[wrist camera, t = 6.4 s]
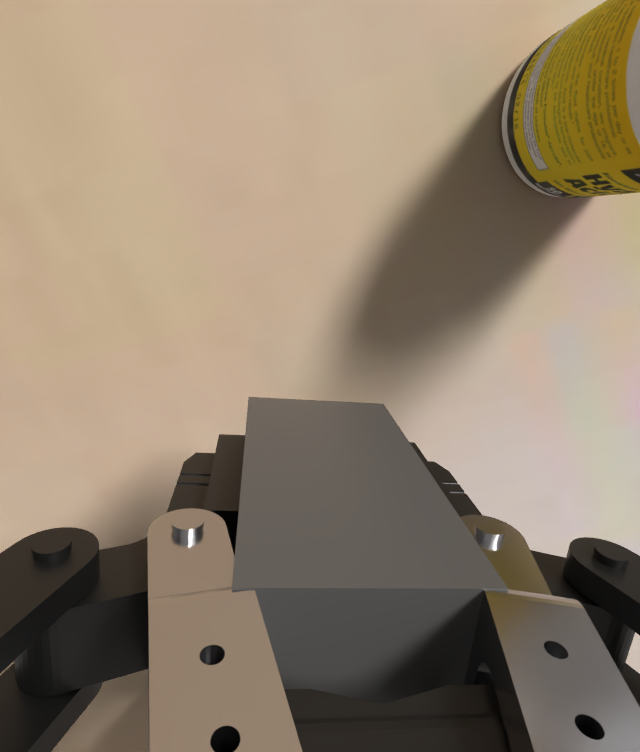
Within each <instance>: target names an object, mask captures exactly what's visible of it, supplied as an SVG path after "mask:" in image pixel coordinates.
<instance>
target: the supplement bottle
mask: <svg viewBox="0 0 640 752" xmlns="http://www.w3.org/2000/svg"><path fill="white" fill-rule="evenodd" d="M502 136H503V142H504V146H505V150H506V153H507V156H508V158H509V161H510V163H511V165H512V167H513V168H514V170H515V172H516V173H517V174H518V176H519V177H520V178H521V179H522V180H523V181H524V182H525V183H526V184H527V185H529V186H530V187H532V188H533V189H535V190H536V191H538V192H540V193H543V194H546V195H549V196H553V197H560V198H579V197H592V196H603V195H613V194H626V193H638V192H640V0H607V1H605V2H604V3H602V4H601V5H599V6H597V7H596V8H594V9H593V10H591V11H589V12H588V13H586V14H585V15H583V16H582V17H580V18H578V19H577V20H575V21H574V22H572V23H571V24H569V25H567V26H566V27H564V28H563V29H561V30H560V31H558V32H557V33H555V34H553V35H552V36H551V37H549V38H548V39H547V40H545V41H544V42H543V43H542V44H540V45H539V46H538V47H537V48H536V49H535V50H534V51H533V52H532V53H531V54H530V55H529V56H528V57H527V58H526V59H525V60H524V62H523V63H522V64H521V66H520V67H519V69H518V70H517V72H516V74H515V75H514V77H513V79H512V82H511V84H510V86H509V89H508V91H507V94H506V98H505V102H504V106H503V113H502Z"/></svg>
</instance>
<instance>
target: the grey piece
mask: <svg viewBox="0 0 640 752" xmlns="http://www.w3.org/2000/svg"><path fill="white" fill-rule="evenodd" d="M246 589H254V590H255V593H256V596H257V599H258V603H259V606H260V609H261V613H262V616H263V620H264V623H265V626H266V630H267V633H268V637H269V640H270V643H271V647H272V650H273V653H274V657H275V660H276V664H277V667H278V670H279V674H280V677H281V681H282V684H283V687H284V689H314V690H318V691H323V692H328V693H333V694H338V695H342V696H347V697H352V698H357V699H361V700H366V701H371V702H376V703H389V702H393V701H396V700H399V699H403V698H406V697H409V696H413V695H416V694H419V693H423V692H426V691H429V690H433V689H436V688H440V687H443V686H447V685H464V680H465V676H466V671H467V667H468V662H469V657H470V653H471V648H472V644H473V639H474V634H475V630H476V625H477V621H478V616H479V611H480V607H481V602H482V597H483V593H484V590H501V591H508V587H507V586H506V584H505V583H504V581H503V580H502V578H501V577H500V575H499V574H498V572H497V571H496V570H495V568H494V567H493V565H492V564H491V562H490V561H489V559H488V558H487V556H486V555H485V553H484V552H483V550H482V549H481V547H480V546H479V544H478V543H477V541H476V540H475V539H474V537H473V536H472V534H471V533H470V531H469V530H468V528H467V527H466V525H465V524H464V522H463V521H462V519H461V518H460V516H459V515H458V513H457V512H456V510H455V509H454V508H453V506H452V505H451V503H450V502H449V500H448V499H447V497H446V496H445V494H444V493H443V491H442V490H441V488H440V487H439V485H438V484H437V482H436V481H435V479H434V478H433V477H432V475H431V474H430V472H429V471H428V469H427V468H426V466H425V465H424V463H423V462H422V460H421V459H420V457H419V456H418V454H417V453H416V451H415V450H414V448H413V447H412V446H411V444H410V443H409V441H408V440H407V438H406V437H405V435H404V434H403V432H402V431H401V429H400V428H399V426H398V425H397V423H396V422H395V420H394V419H393V417H392V416H391V415H390V413H389V412H388V410H387V409H386V407H385V406H384V404H374V403H354V402H335V401H316V400H296V399H277V398H257V397H249V400H248V411H247V422H246V434H245V445H244V456H243V468H242V479H241V490H240V502H239V513H238V524H237V536H236V547H235V558H234V570H233V581H232V590H246Z"/></svg>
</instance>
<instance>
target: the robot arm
mask: <svg viewBox="0 0 640 752" xmlns="http://www.w3.org/2000/svg"><path fill="white" fill-rule="evenodd" d="M409 443H410V444H411V446H412V447H413V448H414V450H415V451H416V453H417V454H418V456H419V457H420V459H421V460H422V462H423V463H424V465H425V466H426V468H427V469H428V471H429V472H430V474H431V475H432V477H433V478H434V479H435V481H436V482H437V484H438V485H439V487H440V488H441V490H442V491H443V493H444V494H445V496H446V497H447V499H448V500H449V502H450V503H451V505H452V506H453V508H454V509H455V510H456V512H457V513H458V515H459V516H460V518H461V519H462V521H463V522H464V524H465V525H466V527H467V528H468V530H469V531H470V533H471V534H472V536H473V537H474V539H475V540H476V541H477V543H478V544H479V546H480V547H481V549H482V550H483V552H484V553H485V555H486V556H487V558H488V559H489V561H490V562H491V564H492V565H493V567H494V568H495V570H496V571H497V572H498V574H499V575H500V577H501V578H502V580H503V581H504V583H505V584H506V586H507V587H508V591H501V590H484V593H483V597H482V602H481V607H480V611H479V616H478V621H477V625H476V630H475V634H474V639H473V644H472V648H471V653H470V657H469V662H468V667H467V671H466V676H465V680H464V685H447V686H443V687H440V688H436V689H433V690H429V691H426V692H423V693H419V694H416V695H413V696H409V697H406V698H403V699H399V700H396V701H393V702H389V703H376V702H371V701H366V700H361V699H357V698H352V697H347V696H342V695H338V694H333V693H328V692H323V691H318V690H314V689H284V687H283V684H282V681H281V677H280V674H279V670H278V667H277V664H276V660H275V657H274V653H273V650H272V647H271V643H270V640H269V637H268V633H267V630H266V626H265V623H264V620H263V616H262V613H261V609H260V606H259V603H258V599H257V596H256V593H255V590H254V589H246V590H232V581H233V570H234V558H235V547H236V536H237V524H238V513H239V502H240V490H241V479H242V468H243V456H244V445H245V435H224V434H219V438H218V443H217V448H216V452H215V453H195V454H194V455H193V456H191V457H190V458H189V459H187V460H186V461H185V462H184V464H183V467H182V470H181V473H180V476H179V478H178V481H177V485H176V487H175V490H174V493H173V496H172V499H171V502H170V505H169V508H168V511H167V513H165V514H163V515H161V516H159V517H158V518H156V519H155V520H154V521H153V522H152V523H151V524H150V526H149V528H148V533H147V538H145V539H143V540H140V541H138V542H135V543H132V544H128V545H124V546H119V547H114V548H108V549H103V550H99V542H98V539H97V538H96V536H94V535H93V534H92V533H90V532H89V531H86V530H83V529H78V528H54V529H49V530H44V531H41V532H37V533H35V534H32V535H30V536H27V537H25V538H23V539H22V540H20V541H18V542H17V543H15V544H14V545H12V546H11V547H9V548H8V549H6V550H5V551H3V552H2V553H0V673H1V672H2V671H3V670H4V669H5V668H6V667H7V666H8V665H10V664H11V663H12V662H13V661H14V664H13V665H12V666H11V667H10V668H9V669H7V670H6V671H5V672H4V673H3V674H2V675H1V676H0V752H51V751H52V750H53V748H54V747H55V746H56V745H57V743H58V742H59V741H60V740H61V739H62V737H63V736H64V735H65V734H66V732H67V731H68V730H69V729H70V727H71V726H72V725H73V724H74V722H75V721H76V720H77V719H78V717H79V716H80V715H81V714H82V712H83V711H84V710H85V709H86V708H87V706H88V705H89V704H90V703H91V701H92V700H93V699H94V698H95V696H96V695H97V693H98V692H99V690H100V688H101V686H102V682H104V681H107V680H110V679H114V678H117V677H121V676H124V675H128V674H131V673H134V672H138V671H141V670H145V669H148V714H149V752H640V674H639V673H638V672H636V671H635V670H634V669H633V668H631V667H630V666H629V665H628V664H626V663H625V662H626V659H627V655H628V652H629V649H630V646H631V643H632V640H633V637H634V634H635V632H636V633H637V634H639V635H640V556H639V555H637V554H635V553H633V552H632V551H630V550H628V549H626V548H624V547H622V546H620V545H617V544H615V543H612V542H609V541H606V540H602V539H597V538H587V537H586V538H578V539H575V540H573V541H572V542H571V543H570V546H569V550H568V553H567V557H566V558H564V557H559V556H555V555H550V554H545V553H541V552H536V551H532V550H530V549H529V547H528V545H527V543H526V541H525V539H524V537H523V536H522V535H521V533H520V532H519V531H517V530H516V529H515V528H513V527H512V526H511V525H509V524H507V523H505V522H503V521H500V520H498V519H495V518H492V517H488V516H483V515H482V514H481V513H480V512H479V510H478V509H477V508H476V506H475V505H474V504H473V502H472V501H471V500H470V498H469V497H468V496H467V494H464V490H463V489H462V488H461V487H460V485H459V484H457V481H456V480H455V479H454V477H453V476H452V475H451V473H450V472H449V471H448V470H446V469H445V468H443V467H441V466H440V465H438V464H437V463H435V462H428V461H427V460H426V458H425V457H424V455H423V454H422V453H421V451H420V450H419V448H418V447H417V445H416V444H415V443H411V442H409Z"/></svg>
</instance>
